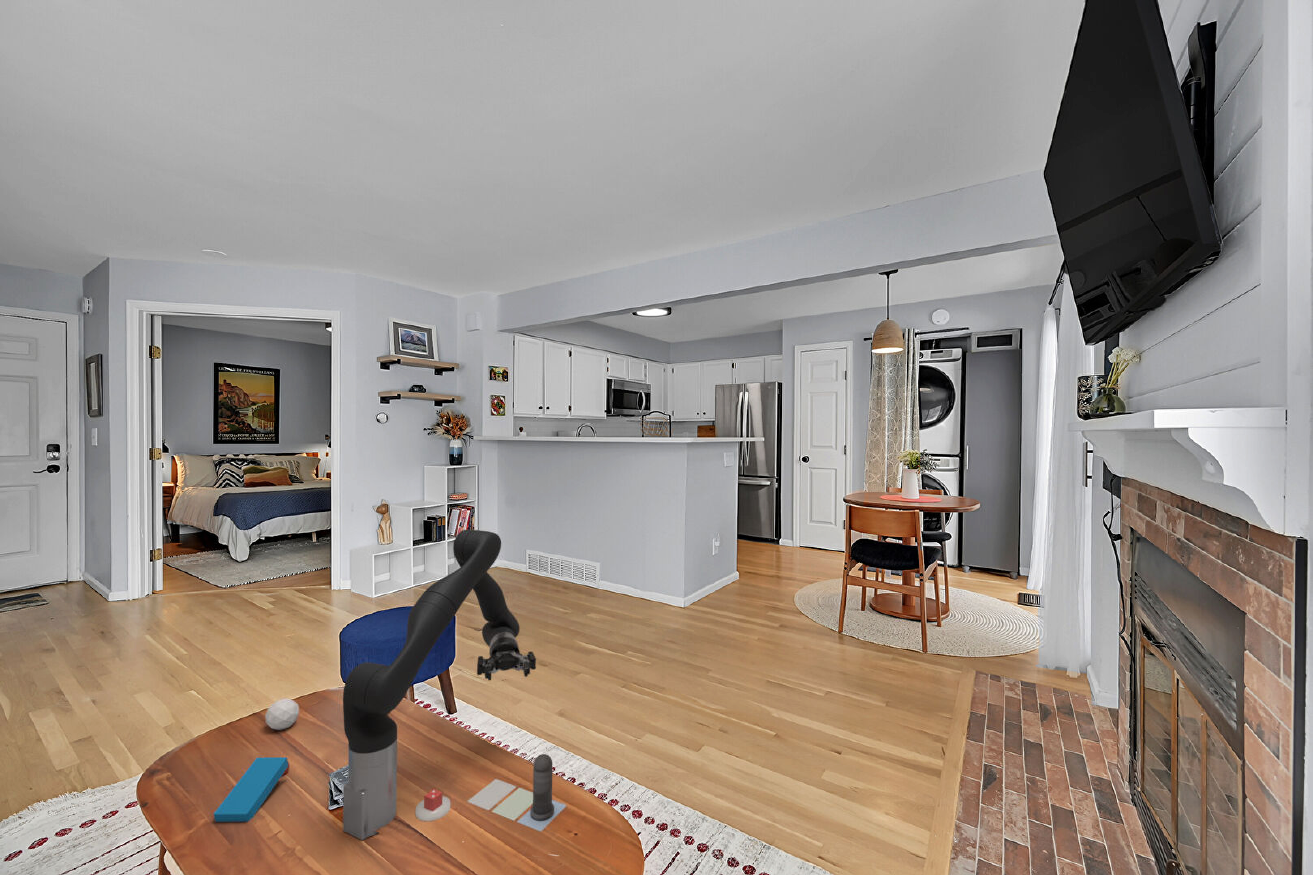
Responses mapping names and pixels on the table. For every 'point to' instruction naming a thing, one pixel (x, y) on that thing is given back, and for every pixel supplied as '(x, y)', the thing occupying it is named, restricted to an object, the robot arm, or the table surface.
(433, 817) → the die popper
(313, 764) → the table surface
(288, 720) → the geometric ball
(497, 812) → the game board
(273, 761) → the lever
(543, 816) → the charcoal pawn
